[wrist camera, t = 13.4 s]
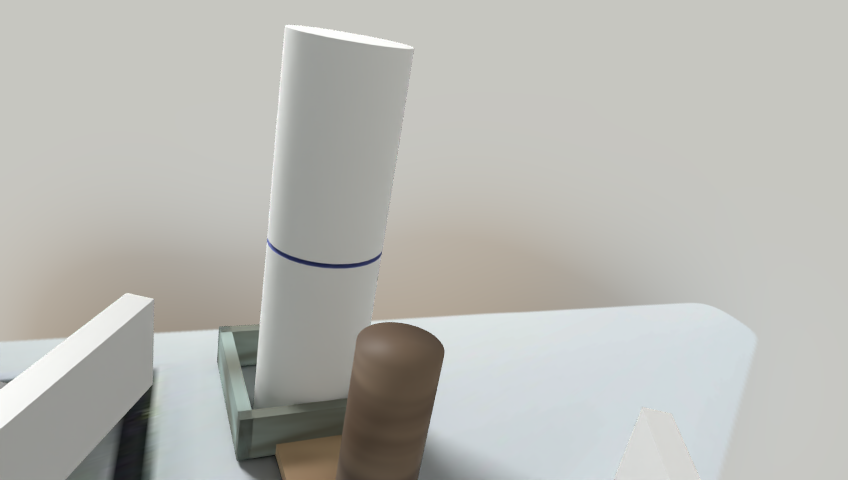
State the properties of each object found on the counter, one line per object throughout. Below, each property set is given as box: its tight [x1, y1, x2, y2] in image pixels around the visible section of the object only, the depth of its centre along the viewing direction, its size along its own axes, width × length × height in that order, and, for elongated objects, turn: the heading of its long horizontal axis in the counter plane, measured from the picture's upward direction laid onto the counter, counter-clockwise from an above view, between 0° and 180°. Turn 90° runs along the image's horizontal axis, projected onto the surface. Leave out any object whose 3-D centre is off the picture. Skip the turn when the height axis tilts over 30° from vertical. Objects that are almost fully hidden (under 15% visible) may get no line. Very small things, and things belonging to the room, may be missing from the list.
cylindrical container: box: [253, 25, 414, 410], centre depth 37 cm, size 7×7×25 cm
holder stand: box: [217, 322, 444, 480], centre depth 36 cm, size 21×11×13 cm, turn 23°
